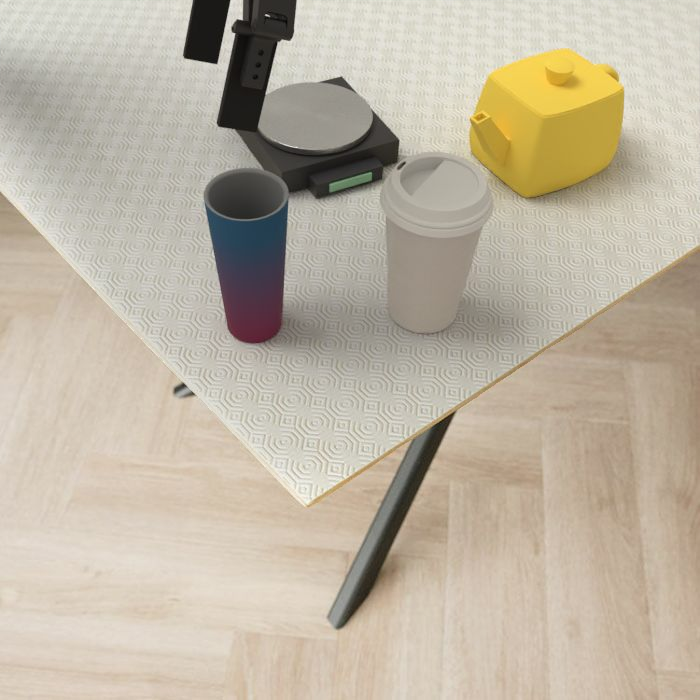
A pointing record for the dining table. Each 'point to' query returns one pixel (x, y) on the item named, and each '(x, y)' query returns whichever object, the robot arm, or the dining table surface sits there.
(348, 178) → the scale
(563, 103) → the teapot
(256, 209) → the cup
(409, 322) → the coffee cup
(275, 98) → the scale pan
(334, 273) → the dining table surface
